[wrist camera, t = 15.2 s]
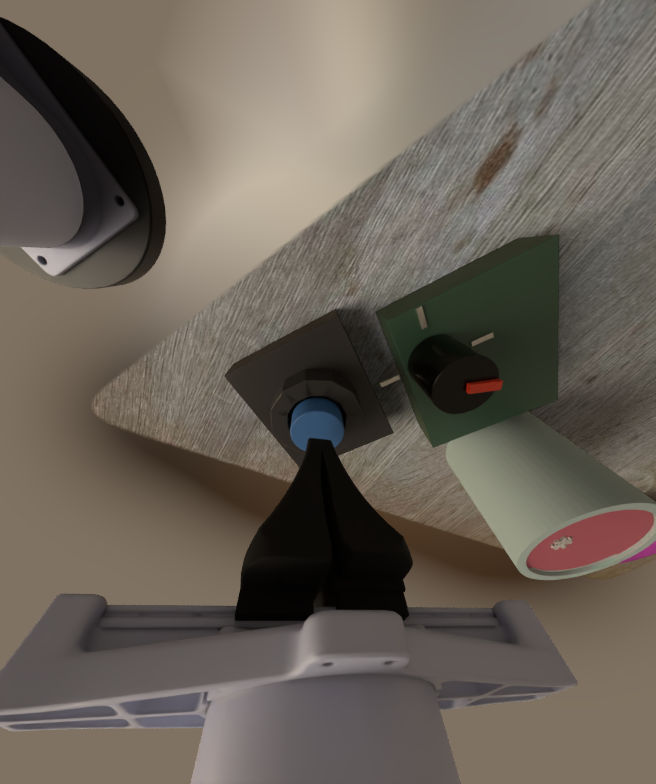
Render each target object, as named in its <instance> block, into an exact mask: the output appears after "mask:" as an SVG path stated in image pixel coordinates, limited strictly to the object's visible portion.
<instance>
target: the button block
mask: <svg viewBox="0 0 656 784" xmlns="http://www.w3.org/2000/svg"><path fill="white" fill-rule="evenodd" d="M225 378H226V379H227V380H228V381H229V383H230V384H231V385H232V386H233V387H234V389H235V390H236V391H237V392H238V393H239V395H240V396H241V397H242V398H243V399H244V401H245V402H246V403H247V404H248V406H249V407H250V408H251V409H252V410H253V412H254V413H255V414H256V415H257V416H258V418H259V419H260V420H261V421H262V423H263V424H264V425H265V426H266V427H267V429H268V430H269V431H270V432H271V433H272V435H273V436H274V437H275V438H276V439H277V441H278V442H279V443H280V444H281V446H282V447H283V448H284V449H285V450H286V452H287V453H288V454H289V455H290V456H291V458H292V459H293V460H294V461H295V463H296V464H297V465H298V466H299V467H300V466H301V464H302V462H303V459H304V456H305V451H304V450H302V449H300V448H299V447H297V446H296V445H295V444H294V442H293V441H292V439H291V435H290V428H291V421H292V414H293V411H294V409H295V408H296V407H297V405H298V404H300V403H301V402H302V401H304V400H306V399H309V398H315V397H319V398H325V399H328V400H330V401H332V402H334V403H335V404H336V405H337V406H338V407H339V409H340V411H341V414H342V420H343V425H344V436H343V439H342V441H341V442H340V443H339V444H338V445H337V446H336V447H335V448H334V449H335V451H336V453H337V455H341V454H343V453H346V452H348V451H351V450H353V449H356V448H358V447H360V446H363V445H365V444H368V443H370V442H373V441H375V440H378V439H380V438H382V437H385V436H387V435H390V434H392V433H393V431H392V429H391V426H390V424H389V422H388V420H387V418H386V416H385V413H384V411H383V409H382V407H381V405H380V403H379V401H378V399H377V396H376V394H375V392H374V390H373V388H372V386H371V384H370V382H369V379H368V377H367V375H366V373H365V371H364V369H363V367H362V364H361V362H360V360H359V358H358V356H357V354H356V352H355V350H354V347H353V345H352V343H351V341H350V339H349V337H348V335H347V333H346V330H345V328H344V326H343V324H342V322H341V320H340V318H339V316H338V313H337V311H336V310H333V311H331V312H329V313H328V314H326V315H324V316H322V317H320V318H318V319H316V320H314V321H313V322H311V323H309V324H307V325H305V326H303V327H301V328H300V329H298V330H296V331H294V332H292V333H290V334H288V335H286V336H285V337H283V338H281V339H279V340H277V341H275V342H273V343H271V344H270V345H268V346H266V347H264V348H262V349H260V350H258V351H257V352H255V353H253V354H251V355H249V356H247V357H245V358H243V359H242V360H240V361H238V362H236V363H234V364H233V365H232V366H231V368H230V369H229V370H228V372H227V373H226V374H225Z"/></svg>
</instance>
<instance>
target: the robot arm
mask: <svg viewBox="0 0 656 784" xmlns="http://www.w3.org/2000/svg"><path fill="white" fill-rule="evenodd" d="M120 197H122V198H123V200H124V205H123V206H122V205H121V204H120V202H119V198H120ZM138 216H139V213H138V210H137V208H136V206H135V205H134V203H133V202H132V201H131V199H130V198H129V197H128V195H127V194H126V193H125V191H124V190H123V188H122V187H121V186H120V184H119V183H118V182H117V180H116V179H115V178H114V176H113V175H112V173H111V172H110V171H109V169H108V168H107V167H106V165H105V164H104V163H103V161H102V160H101V159H100V157H99V156H98V154H97V153H96V152H95V150H94V149H93V148H92V146H91V145H90V144H89V142H88V141H87V139H86V138H85V137H84V135H83V134H82V133H81V131H80V130H79V129H78V127H77V126H76V125H75V123H74V122H73V120H72V119H71V118H70V116H69V115H68V114H67V112H66V111H65V110H64V108H63V107H62V105H61V104H60V103H59V101H58V100H57V99H56V97H55V96H54V95H53V93H52V92H51V90H50V89H49V88H48V86H47V85H46V84H45V82H44V81H43V80H42V78H41V77H40V76H39V74H38V73H37V71H36V70H35V69H34V67H33V66H32V65H31V63H30V62H29V61H28V59H27V58H26V56H25V55H24V54H23V52H22V51H21V50H20V48H19V47H18V46H17V44H16V43H15V42H14V40H13V39H12V37H11V36H10V35H9V33H8V32H7V31H6V29H5V28H4V27H3V25H2V24H1V22H0V246H14V247H21V248H22V249H23V250H24V251H25V252H26V253H27V254H28V255H29V256H30V257H31V258H32V259H33V260H34V261H35V262H36V263H37V264H38V265H39V266H40V267H41V268H42V269H43V270H44V271H45V272H47V273H48V274H49V275H52V276H60V275H62V274H64V273H65V272H67V271H68V270H69V269H71V268H72V267H73V266H75V265H76V264H77V263H79V262H80V261H81V260H83V259H84V258H85V257H87V256H88V255H90V254H91V253H92V252H94V251H95V250H96V249H98V248H99V247H100V246H102V245H103V244H104V243H106V242H107V241H109V240H110V239H111V238H113V237H114V236H115V235H117V234H118V233H119V232H121V231H122V230H123V229H125V228H126V227H127V226H129V225H130V224H132V223H133V222H134V221H136V220H137V219H138ZM43 257H44V258H45V259H46V260H47V263H46V262H45V261H44V259H43ZM412 565H413V562H412V558H411V555H410V552H409V549H408V547H407V544H406V542H405V540H404V537H403V536H402V535H400V534H399V533H398V532H397V531H396V530H395V529H394V528H393V527H391V526H390V525H389V524H388V523H387V522H386V521H385V520H384V519H383V518H382V517H381V516H380V515H379V514H378V513H377V512H376V511H375V510H374V509H373V507H372V506H371V505H370V504H369V503H368V502H367V501H366V499H365V498H364V497H363V496H362V494H361V493H360V492H359V490H358V489H357V488H356V486H355V485H354V483H353V482H352V480H351V478H350V477H349V475H348V474H347V472H346V470H345V468H344V467H343V465H342V463H341V461H340V459H339V457H338V455H337V453H336V451H335V449H334V446H333V444H332V442H331V440H325V439H317V438H309V439H308V442H307V447H306V451H305V456H304V459H303V462H302V464H301V466H300V468H299V471H298V473H297V475H296V477H295V479H294V480H293V482H292V484H291V486H290V487H289V489H288V491H287V492H286V494H285V495H284V497H283V498H282V500H281V501H280V503H279V504H278V505H277V507H276V508H275V509H274V511H273V512H272V513H271V515H270V516H269V517H268V518H267V519H266V521H265V522H264V523H263V524H262V525H261V526H260V528H259V529H258V531H257V533H256V535H255V536H254V538H253V540H252V542H251V544H250V546H249V548H248V550H247V552H246V555H245V558H244V562H243V567H242V571H241V588H240V593H239V597H238V602H237V606H177V605H175V606H174V605H107V601H106V599H105V598H104V597H103V596H100V595H96V594H60V595H58V596H57V597H56V598H55V599H54V601H53V602H52V603H51V605H50V606H49V607H48V609H47V610H46V611H45V613H44V614H43V615H42V616H41V618H40V619H39V621H38V622H37V623H36V624H35V626H34V627H33V628H32V630H31V631H30V632H29V634H28V635H27V636H26V638H25V639H24V640H23V642H22V643H21V644H20V646H19V647H18V648H17V650H16V651H15V652H14V654H13V655H12V656H11V658H10V659H9V660H8V661H7V663H6V664H5V665H4V667H3V668H2V670H1V671H0V727H1V728H4V729H7V730H10V731H32V730H53V729H82V728H83V729H89V728H203V733H202V737H201V741H200V745H199V750H198V754H197V758H196V763H195V767H194V771H193V776H192V780H191V784H461V783H460V779H459V776H458V772H457V769H456V765H455V762H454V758H453V755H452V751H451V747H450V744H449V740H448V737H447V733H446V730H445V726H444V723H443V719H442V716H441V713H440V710H447V709H454V708H463V707H471V706H479V705H488V704H496V703H506V702H517V701H530V700H538V699H541V698H544V697H547V696H549V695H552V694H555V693H557V692H560V691H563V690H566V689H568V688H571V687H574V686H576V685H577V684H578V683H577V680H576V679H575V677H574V675H573V674H572V672H571V671H570V669H569V667H568V666H567V664H566V663H565V661H564V660H563V658H562V656H561V655H560V653H559V652H558V650H557V648H556V647H555V645H554V643H553V642H552V640H551V639H550V637H549V635H548V634H547V632H546V631H545V629H544V627H543V626H542V624H541V623H540V621H539V620H538V618H537V616H536V615H535V613H534V611H533V610H532V608H531V607H530V605H529V603H528V602H527V601H525V600H503V601H500V602H498V603H497V604H495V605H494V607H493V608H423V607H422V608H421V607H415V608H414V607H413V608H412V607H407V604H406V600H405V597H404V593H403V592H405V585H404V582H403V579H404V578H405V576H406V575H407V573H408V572H409V571H410V569H411V567H412Z"/></svg>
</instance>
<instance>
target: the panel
mask: <svg viewBox="0 0 656 784" xmlns="http://www.w3.org/2000/svg"><path fill="white" fill-rule="evenodd" d="M376 315H377V317H378V320H379V322H380V325H381V328H382V330H383V333H384V335H385V338H386V340H387V343H388V346H389V348H390V351H391V353H392V356H393V359H394V361H395V364H396V366H397V369H398V372H399V374H400V377H401V379H402V382H403V384H404V387H405V390H406V392H407V395H408V397H409V400H410V403H411V405H412V408H413V410H414V413H415V415H416V418H417V421H418V423H419V426H420V428H421V429H422V431H423V432H424V434H425V435H426V437H427V439H428V440H429V442H430V443H431V445H432V446H433V447H437V446H439V445H442V444H444V443H447V442H450V441H452V440H455V439H457V438H460V437H463V436H465V435H468V434H470V433H473V432H476V431H478V430H481V429H483V428H486V427H489V426H491V425H494V424H496V423H499V422H502V421H504V420H507V419H509V418H512V417H515V416H517V415H520V414H522V413H525V412H528V411H530V410H533V409H535V408H538V407H541V406H543V405H546V404H548V403H551V402H554V401H556V400H558V323H559V235H548V236H538V237H528V238H518V239H516V240H514V241H512V242H510V243H508V244H506V245H504V246H502V247H500V248H498V249H496V250H494V251H492V252H490V253H488V254H487V255H485V256H483V257H481V258H479V259H477V260H475V261H473V262H471V263H469V264H467V265H465V266H463V267H461V268H459V269H457V270H455V271H454V272H452V273H450V274H448V275H446V276H444V277H442V278H440V279H438V280H436V281H434V282H432V283H430V284H428V285H426V286H424V287H423V288H421V289H419V290H417V291H415V292H413V293H411V294H409V295H407V296H405V297H403V298H401V299H399V300H397V301H395V302H393V303H391V304H390V305H388V306H386V307H384V308H382V309H380V310H378V311H376ZM434 335H447V336H450V337H452V338H454V339H456V340H458V341H459V342H461V343H463V344H465V345H466V346H468V347H470V348H472V349H474V350H475V351H477V352H479V353H481V354H482V355H484V356H486V357H488V358H490V359H491V360H492V361H494V363H495V364H496V365H497V367H498V370H499V379H501V380H502V381H503V384H502V387H501V390H497V391H495V392H494V393H493V395H492V396H491V397H490V398H489V399H488V400H487V401H486V402H485V403H484V404H483V405H481V406H480V407H478V408H476V409H474V410H472V411H470V412H467V413H463V414H448V413H445V412H443V411H441V410H439V409H438V408H437V407H436V406H435V405H434V404H433V402H432V401H431V400H430V399H429V398H428V396H427V395H426V394H425V393H424V392H423V390H422V389H421V388H420V387H419V386H418V384H417V383H416V382H415V381H414V380H413V378H412V377H411V376H410V374H409V371H408V360H409V357H410V355H411V353H412V351H413V350H414V348H415V347H416V346H417V345H418V344H419V343H420V342H422V341H423V340H425V339H426V338H428V337H431V336H434ZM400 377H399V375H398V374H397V375H395V376H393V377H391V378H389V379H386V380H384V381H382V382H380V385H381V387H384V386H386V385H388V384H391V383H393V382H395V381H397V380H399V379H400Z"/></svg>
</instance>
